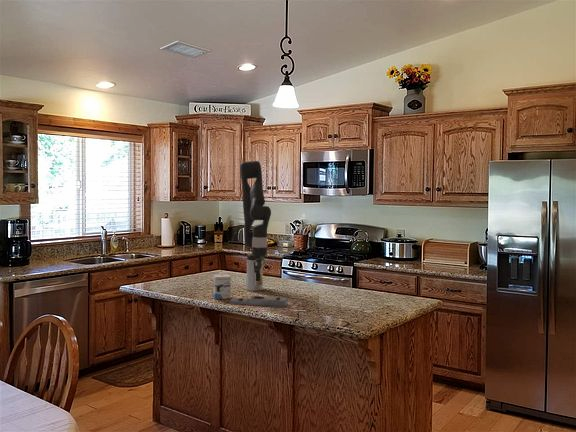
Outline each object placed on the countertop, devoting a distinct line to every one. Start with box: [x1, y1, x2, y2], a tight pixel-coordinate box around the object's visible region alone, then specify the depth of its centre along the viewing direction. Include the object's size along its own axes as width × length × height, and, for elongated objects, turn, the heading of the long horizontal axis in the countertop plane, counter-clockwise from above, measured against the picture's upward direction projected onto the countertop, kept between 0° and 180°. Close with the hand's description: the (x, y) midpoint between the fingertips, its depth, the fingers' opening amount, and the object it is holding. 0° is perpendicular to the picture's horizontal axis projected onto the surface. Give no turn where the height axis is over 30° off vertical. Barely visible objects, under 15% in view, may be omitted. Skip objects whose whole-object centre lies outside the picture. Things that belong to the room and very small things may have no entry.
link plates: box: [229, 295, 289, 308], centre depth 261 cm, size 7×28×4 cm, turn 80°
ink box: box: [212, 274, 232, 300], centre depth 274 cm, size 8×5×12 cm, turn 105°
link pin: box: [255, 265, 264, 285], centre depth 261 cm, size 4×4×10 cm
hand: (258, 280), depth 261 cm, fingers closed on link pin, 3 cm apart
